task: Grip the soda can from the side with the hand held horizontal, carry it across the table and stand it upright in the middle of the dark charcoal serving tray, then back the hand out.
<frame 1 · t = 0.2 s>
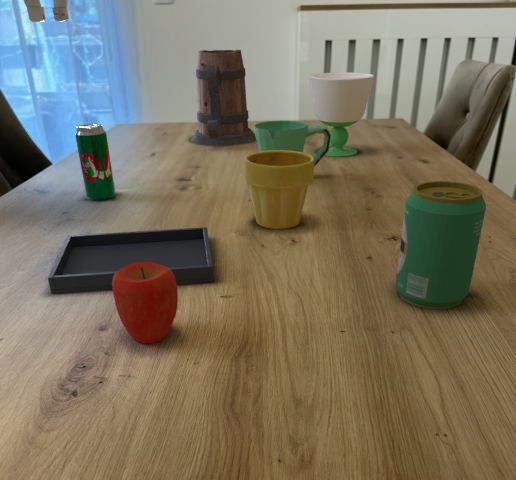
hand: (50, 21, 80), 27 cm above the table, tool pointing down, fingers open, 8 cm apart
cup: (337, 153, 125), on the table
tray: (137, 265, 72), on the table
beverage can: (430, 296, 63), on the table
mug: (292, 180, 106), on the table
tankard: (221, 142, 138), on the table
soda can: (101, 198, 98), on the table
flower pot: (278, 223, 85), on the table
apple: (151, 337, 56), on the table
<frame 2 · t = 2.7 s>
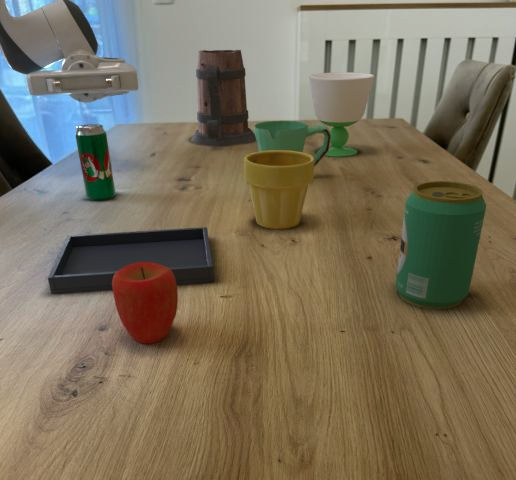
hand: (83, 85, 99), 17 cm above the table, tool horizontal, fingers open, 8 cm apart
nothing on the table moved.
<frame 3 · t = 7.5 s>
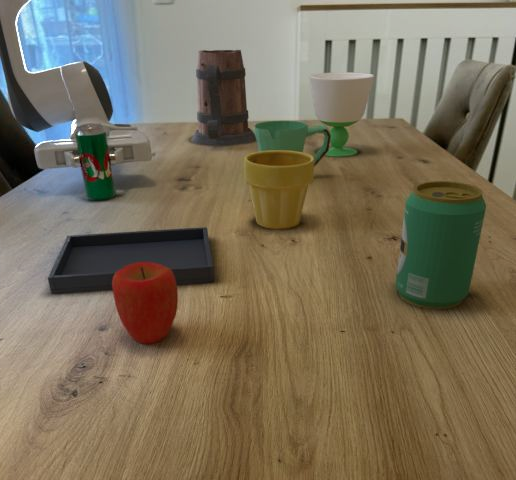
hand: (95, 161, 94), 7 cm above the table, tool horizontal, fingers closed on soda can, 5 cm apart
soda can: (101, 198, 98), on the table, touching gripper
everything else where it was.
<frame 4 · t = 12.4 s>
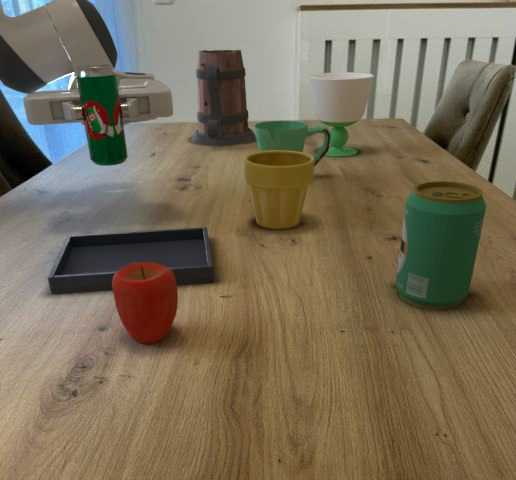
hand: (102, 113, 73), 17 cm above the table, tool horizontal, fingers closed on soda can, 5 cm apart
soda can: (110, 163, 77), point 10 cm above the table, touching gripper
everything else where it was.
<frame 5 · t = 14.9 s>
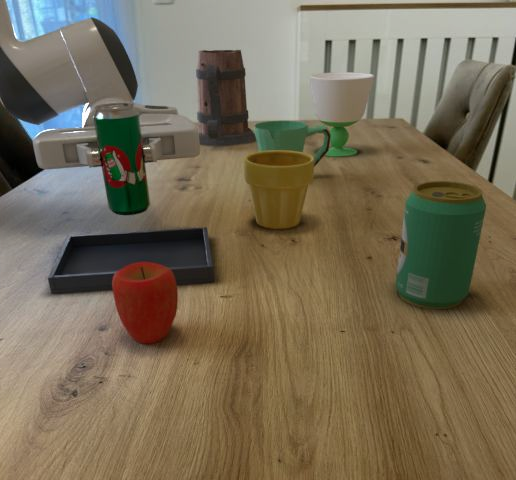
hand: (123, 157, 64), 14 cm above the table, tool horizontal, fingers closed on soda can, 5 cm apart
soda can: (130, 211, 68), point 7 cm above the table, touching gripper
everything else where it was.
when the fingers open (7 cm above the table, at t = 17.2 s): soda can stays where it is, resting on tray.
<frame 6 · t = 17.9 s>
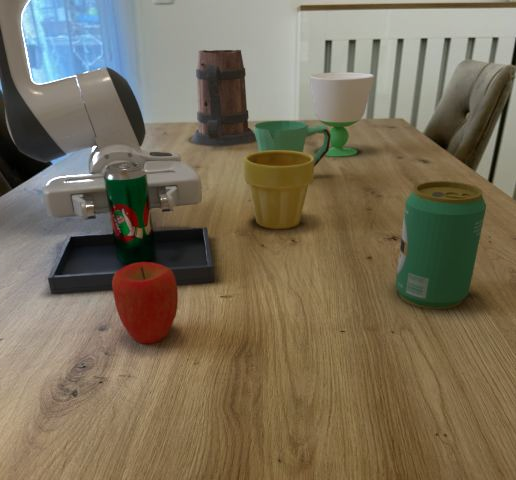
hand: (128, 209, 67), 8 cm above the table, tool horizontal, fingers open, 8 cm apart
soda can: (137, 261, 72), resting on tray
everything else where it was.
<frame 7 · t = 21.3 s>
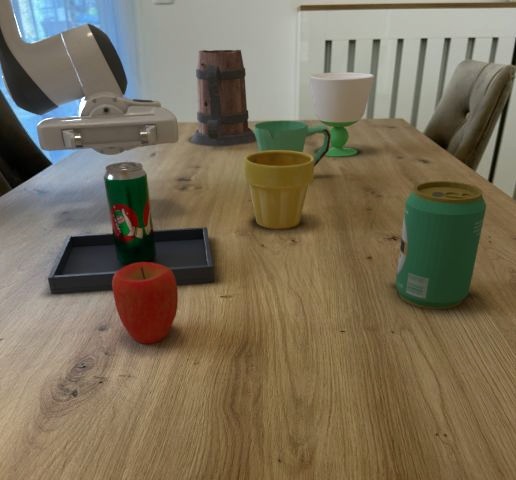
hand: (112, 141, 76), 13 cm above the table, tool horizontal, fingers open, 8 cm apart
nothing on the table moved.
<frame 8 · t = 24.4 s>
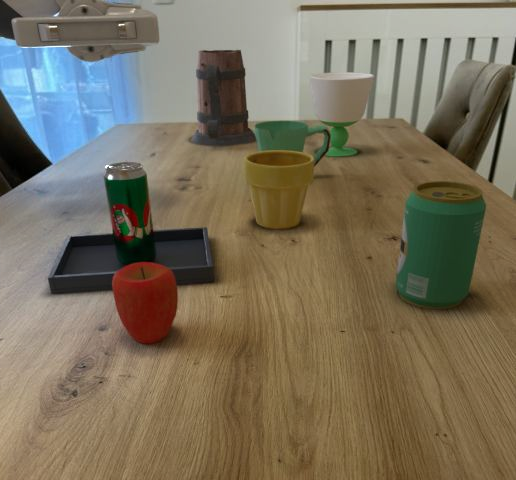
hand: (88, 32, 74), 26 cm above the table, tool horizontal, fingers open, 8 cm apart
nothing on the table moved.
at the end: soda can inside the target area in the tray (0.1 cm from its centre), point 0.4 cm above the tray's base; soda can tilted 0°; the gripper is holding nothing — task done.
